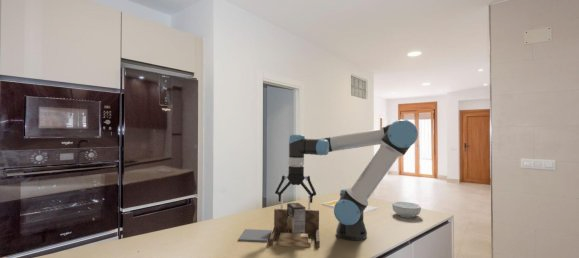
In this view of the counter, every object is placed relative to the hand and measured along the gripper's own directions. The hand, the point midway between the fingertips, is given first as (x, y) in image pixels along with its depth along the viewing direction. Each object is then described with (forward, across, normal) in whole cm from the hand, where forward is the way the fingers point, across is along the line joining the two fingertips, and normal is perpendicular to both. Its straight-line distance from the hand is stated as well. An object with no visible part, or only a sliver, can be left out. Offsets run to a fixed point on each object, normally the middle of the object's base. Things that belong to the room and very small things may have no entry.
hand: (295, 208), depth 142 cm
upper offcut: (+12, 0, +8) cm, 15 cm away
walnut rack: (+14, 0, +2) cm, 14 cm away
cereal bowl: (+14, -68, -44) cm, 82 cm away
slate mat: (+14, +20, 0) cm, 24 cm away
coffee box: (+14, 0, 0) cm, 14 cm away
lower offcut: (+15, -1, +8) cm, 17 cm away
